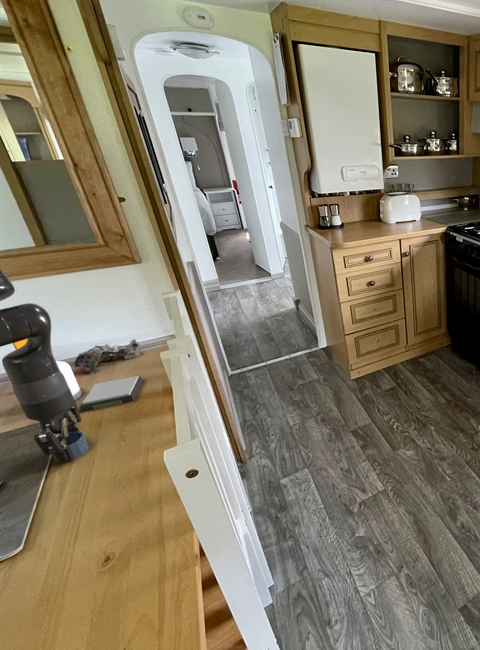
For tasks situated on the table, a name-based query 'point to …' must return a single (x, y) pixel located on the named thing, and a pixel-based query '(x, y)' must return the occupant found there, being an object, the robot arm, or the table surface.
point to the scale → (112, 393)
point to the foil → (105, 354)
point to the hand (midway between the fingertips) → (71, 452)
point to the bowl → (75, 444)
